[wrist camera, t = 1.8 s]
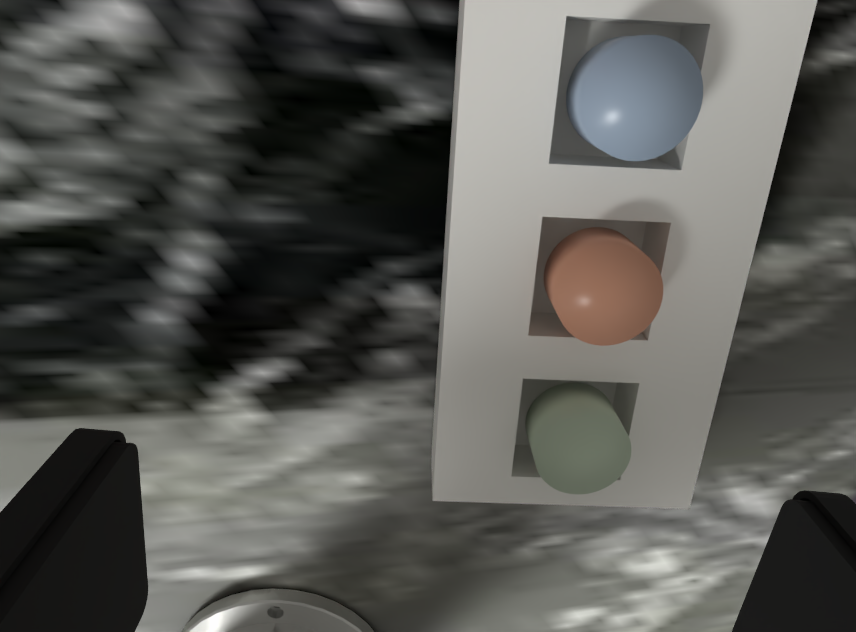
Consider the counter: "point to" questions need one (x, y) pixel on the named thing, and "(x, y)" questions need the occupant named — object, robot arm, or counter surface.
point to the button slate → (635, 96)
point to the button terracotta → (602, 286)
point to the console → (599, 207)
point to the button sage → (577, 438)
